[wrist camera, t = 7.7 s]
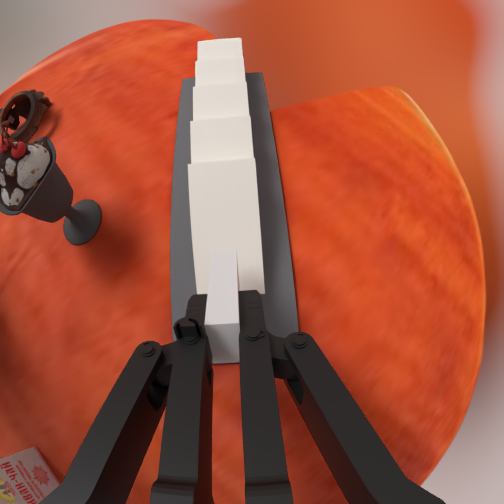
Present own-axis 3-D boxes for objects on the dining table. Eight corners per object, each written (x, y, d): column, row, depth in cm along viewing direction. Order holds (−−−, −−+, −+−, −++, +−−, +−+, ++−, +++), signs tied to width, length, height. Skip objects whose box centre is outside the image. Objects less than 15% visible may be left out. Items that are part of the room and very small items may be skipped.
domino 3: (195, 187, 23) (192, 86, 22) (198, 190, 25) (195, 94, 24) (254, 183, 23) (246, 82, 22) (253, 185, 25) (246, 89, 24)
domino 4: (195, 240, 22) (190, 121, 21) (198, 240, 23) (193, 127, 22) (259, 235, 22) (250, 115, 21) (258, 235, 23) (249, 122, 23)
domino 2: (196, 145, 24) (195, 61, 23) (199, 150, 26) (197, 68, 25) (250, 141, 24) (243, 57, 23) (249, 145, 26) (243, 64, 25)
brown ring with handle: (67, 96, 31) (46, 79, 23) (55, 152, 33) (30, 145, 25) (14, 103, 28) (-10, 91, 20) (3, 155, 30) (-24, 150, 22)
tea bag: (53, 496, 15) (7, 525, 5) (22, 450, 16) (-31, 468, 7) (69, 494, 16) (21, 527, 6) (36, 446, 17) (-21, 466, 7)
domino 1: (197, 111, 25) (197, 41, 25) (199, 117, 27) (199, 48, 26) (246, 107, 26) (241, 37, 25) (246, 113, 27) (241, 45, 26)
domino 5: (197, 298, 20) (187, 164, 20) (200, 293, 22) (191, 168, 21) (264, 293, 20) (254, 158, 20) (263, 289, 22) (254, 163, 21)
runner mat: (176, 363, 21) (174, 364, 20) (183, 81, 30) (182, 79, 29) (299, 356, 21) (300, 356, 21) (262, 75, 30) (262, 72, 29)
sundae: (121, 207, 25) (33, 104, 10) (83, 265, 23) (-33, 200, 9) (83, 183, 26) (5, 94, 11) (49, 234, 24) (-47, 167, 9)
